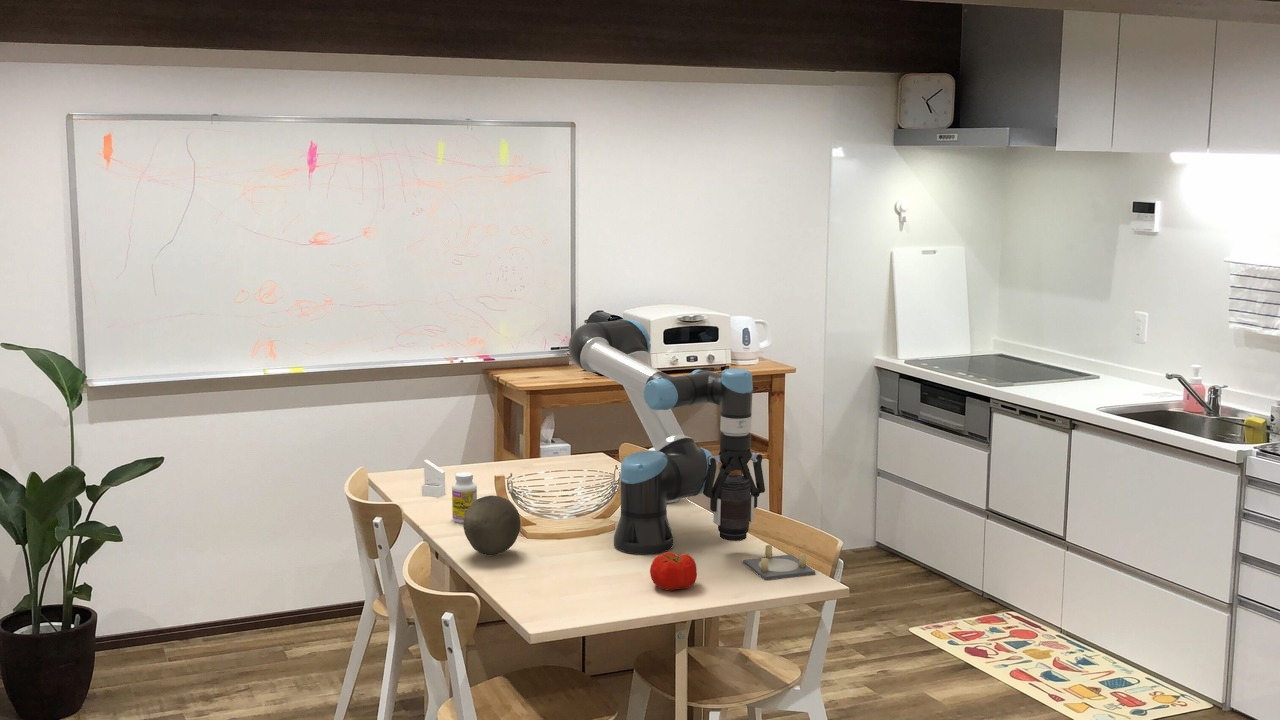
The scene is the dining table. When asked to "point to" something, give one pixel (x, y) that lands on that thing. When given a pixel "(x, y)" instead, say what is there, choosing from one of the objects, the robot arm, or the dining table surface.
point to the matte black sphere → (491, 525)
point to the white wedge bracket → (433, 480)
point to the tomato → (673, 571)
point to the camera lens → (734, 508)
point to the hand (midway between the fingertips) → (733, 522)
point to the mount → (779, 565)
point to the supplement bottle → (462, 495)
